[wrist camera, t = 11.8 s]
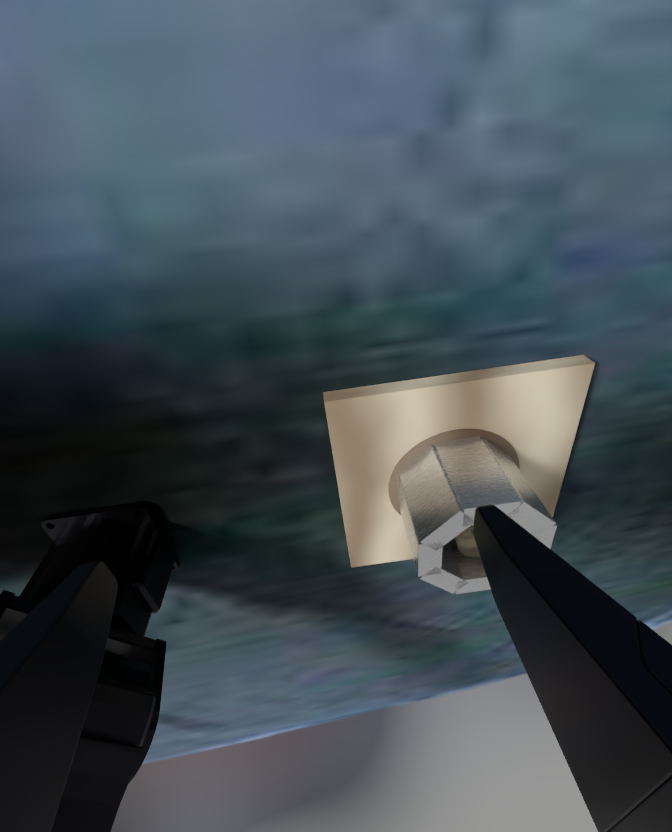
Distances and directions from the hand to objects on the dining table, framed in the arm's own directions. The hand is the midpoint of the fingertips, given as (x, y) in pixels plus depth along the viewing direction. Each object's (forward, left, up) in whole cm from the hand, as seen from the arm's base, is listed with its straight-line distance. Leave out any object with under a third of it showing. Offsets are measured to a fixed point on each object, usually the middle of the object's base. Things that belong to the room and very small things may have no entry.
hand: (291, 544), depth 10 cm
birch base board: (+8, -10, -12) cm, 18 cm away
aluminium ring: (+8, -10, -11) cm, 17 cm away
